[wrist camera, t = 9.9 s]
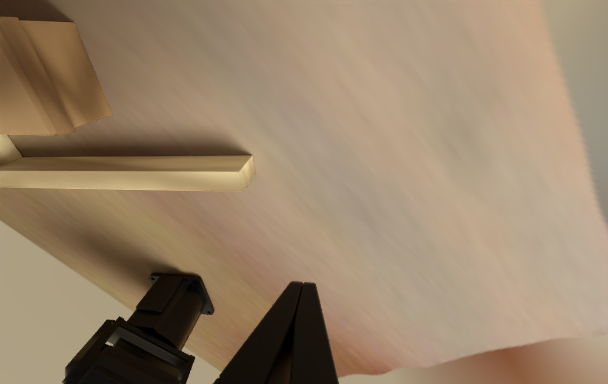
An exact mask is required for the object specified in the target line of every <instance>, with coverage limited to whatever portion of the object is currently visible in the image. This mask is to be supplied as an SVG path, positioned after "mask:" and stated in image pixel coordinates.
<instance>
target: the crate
mask: <svg viewBox="0 0 608 384" xmlns="http://www.w3.org/2000/svg"><path fill="white" fill-rule="evenodd" d="M110 115H113V114H112V111H111V109H110V106H109V104H108V102H107V99H106V97H105V95H104V92H103V90H102V87H101V85H100V83H99V80H98V78H97V76H96V73H95V71H94V68H93V66H92V64H91V61H90V59H89V57H88V54H87V52H86V49H85V47H84V45H83V42H82V40H81V38H80V35H79V33H78V30H77V28H76V26H75V23H74V22H49V21H24V20H19V19H18V17H1V16H0V134H4V135H66V134H69V133H71V132H74V131H75V129H74V128H75V127H78V126H81V125H84V124H87V123H89V122H92V121H95V120H98V119H101V118H104V117H107V116H110Z"/></svg>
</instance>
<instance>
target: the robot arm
mask: <svg viewBox="0 0 608 384" xmlns="http://www.w3.org/2000/svg"><path fill="white" fill-rule="evenodd" d="M149 279H150V281H151V283H152V285H153V286H152V287H151V288H150V289H149V291H148V292H147V293H146V295H145V296H144V297H143V298H142V300H141V301H140V302H139V303H138V305H137V306H136V310H135V312H134V313H133V314H132V316H131V317H130V318H129V320H128V321H125V320H124V319H123V318H122V317H120V316H119V317H118V319H117V320H116V321H115V320H106V321H105V322H104V324H103V325H102V326H101V327H100V328H99V329H98V331H97V332H96V333H95V334H94V335H93V336H92V338H91V339H90V340H89V341H88V342H87V343H86V344H85V346H84V347H83V348H82V349H81V350H80V351H79V352H78V353H77V355H76V356H75V357H74V358H73V359H72V360H71V362H70V363H69V364H68V365H67V366H66V368H65V379H64V380H63V381H62V383H63V384H186V382H187V379H188V376H189V374H190V371H191V368H192V365H193V362H194V360H195V357H194V356H192V355H188V354H186V353H184V352H182V351H181V350H182V348H183V347H184V345H185V343H186V341H187V339H188V337H189V335H190V333H191V332H192V330H193V328H194V326H195V324H196V322H197V320H198V319H199V317H200V315H201V314H206V315H213V313H214V308H213V305H212V303H211V300H210V298H209V296H208V293H207V291H206V288H205V286H204V284H203V281H202V279H201V278H199V277H195V276H182V275H170V274H158V273H152V274H151V275H150V276H149ZM107 341H108V342H110V343H112V344H114V345H113V346H109V345H107V344H105V343H106V342H107ZM219 378H220V379H219ZM219 378H217V379H216V380H215V382H214V383H213V384H339V381H338V377H337V373H336V369H335V364H334V360H333V356H332V351H331V347H330V343H329V338H328V334H327V330H326V325H325V321H324V317H323V313H322V308H321V304H320V300H319V295H318V291H317V287H316V284H315V283H311V282H304V284H303V282H299V281H292V282H290V283H289V285H288V286H287V287H286V289H285V290H284V291H283V293H282V294H281V295H280V296H279V298H278V299H277V300H276V302H275V303H274V304H273V306H272V307H271V308H270V310H269V311H268V312H267V314H266V315H265V316H264V318H263V319H262V320H261V321H260V323H259V324H258V325H257V327H256V328H255V329H254V331H253V332H252V333H251V335H250V336H249V337H248V339H247V340H246V341H245V342H244V344H243V345H242V346H241V348H240V349H239V350H238V352H237V353H236V354H235V356H234V357H233V358H232V360H231V361H230V362H229V364H228V365H227V366H226V367H225V369H224V370H223V371H222V373H221V374H220V376H219Z"/></svg>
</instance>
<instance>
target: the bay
mask: <svg viewBox="0 0 608 384" xmlns="http://www.w3.org/2000/svg"><path fill="white" fill-rule="evenodd" d="M255 174H256V172H255V167H254V162H253V156H252V155H243V156H112V157H22V155H21V154H20V153H19V151H18V150H17V148H16V147H15V145H14V144H13V143H12V141H11V140H10V138H9V137H8V135H4V134H0V187H9V188H64V189H120V190H175V191H231V192H244V190H245V189H246V187H247V186H248V185H249V183H250V182H251V180H252V179H253V177H254V176H255Z"/></svg>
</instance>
